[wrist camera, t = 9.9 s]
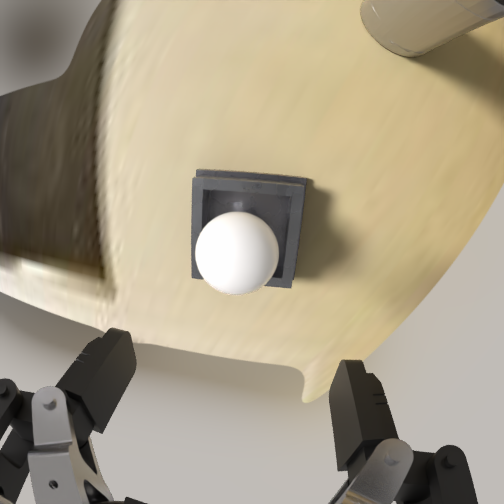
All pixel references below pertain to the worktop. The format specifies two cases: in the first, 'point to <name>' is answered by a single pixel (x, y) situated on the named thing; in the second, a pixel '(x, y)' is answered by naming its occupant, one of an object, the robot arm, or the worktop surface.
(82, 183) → the worktop surface
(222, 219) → the lightbulb
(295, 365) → the worktop surface
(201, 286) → the worktop surface
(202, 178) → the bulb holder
